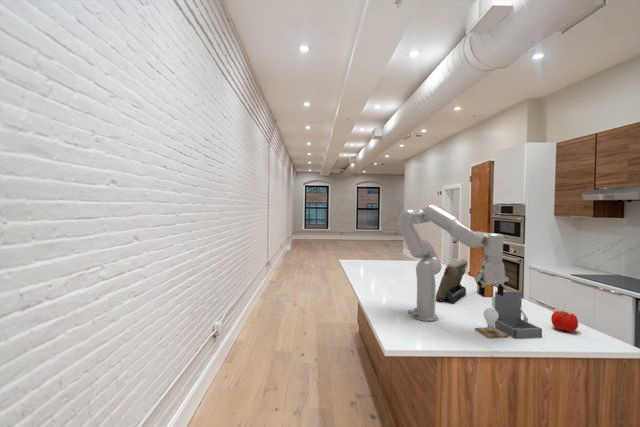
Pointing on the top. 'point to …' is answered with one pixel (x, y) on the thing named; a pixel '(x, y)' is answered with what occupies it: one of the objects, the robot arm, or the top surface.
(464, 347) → the top surface
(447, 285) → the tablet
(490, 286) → the baking soda box
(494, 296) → the security camera
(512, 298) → the equipment case
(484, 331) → the walnut board
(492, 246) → the robot arm
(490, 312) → the lightbulb
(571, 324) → the tomato
